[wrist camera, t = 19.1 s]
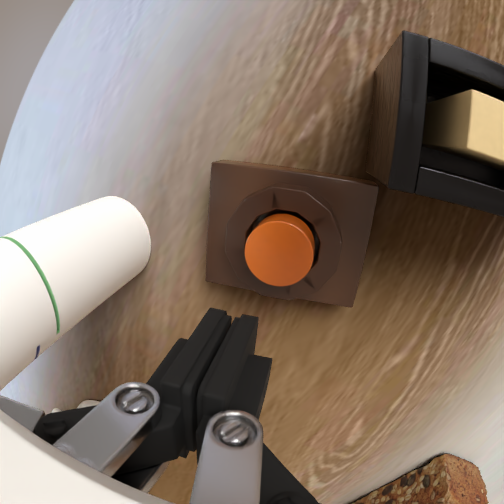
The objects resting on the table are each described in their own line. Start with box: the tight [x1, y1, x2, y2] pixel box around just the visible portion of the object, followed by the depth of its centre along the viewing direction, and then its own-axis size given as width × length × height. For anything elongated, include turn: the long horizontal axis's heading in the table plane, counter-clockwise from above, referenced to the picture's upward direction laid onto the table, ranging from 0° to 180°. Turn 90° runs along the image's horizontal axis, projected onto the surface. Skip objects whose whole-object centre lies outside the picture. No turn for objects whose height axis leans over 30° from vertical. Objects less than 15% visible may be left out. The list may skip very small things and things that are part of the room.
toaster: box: [365, 31, 504, 217], centre depth 13 cm, size 13×7×8 cm, turn 85°
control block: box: [206, 160, 379, 307], centre depth 19 cm, size 10×8×4 cm
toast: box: [422, 89, 504, 172], centre depth 12 cm, size 8×2×8 cm, turn 84°
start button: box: [245, 214, 315, 286], centre depth 17 cm, size 4×4×2 cm
